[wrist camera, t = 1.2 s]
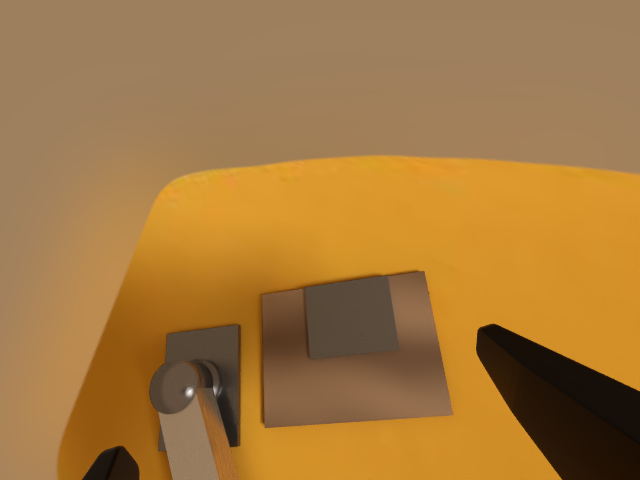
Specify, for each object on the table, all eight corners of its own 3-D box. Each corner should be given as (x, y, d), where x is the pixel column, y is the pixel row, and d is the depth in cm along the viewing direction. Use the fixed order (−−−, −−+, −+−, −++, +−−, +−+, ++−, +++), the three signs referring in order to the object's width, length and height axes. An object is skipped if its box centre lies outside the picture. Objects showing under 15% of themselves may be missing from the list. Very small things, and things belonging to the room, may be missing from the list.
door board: (452, 414, 22) (453, 415, 21) (267, 426, 24) (264, 427, 24) (423, 272, 25) (424, 271, 25) (264, 296, 28) (262, 294, 27)
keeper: (399, 350, 23) (399, 349, 23) (311, 359, 25) (310, 358, 24) (387, 276, 25) (387, 275, 25) (306, 288, 26) (305, 287, 26)
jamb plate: (240, 445, 24) (233, 448, 23) (161, 450, 25) (152, 452, 24) (240, 325, 27) (234, 323, 26) (170, 334, 28) (162, 333, 27)
